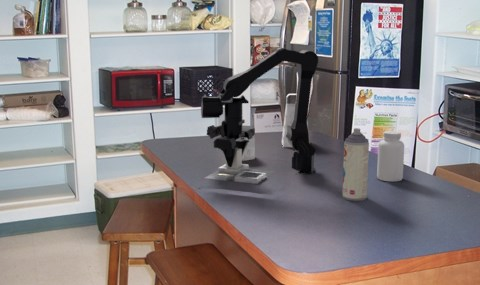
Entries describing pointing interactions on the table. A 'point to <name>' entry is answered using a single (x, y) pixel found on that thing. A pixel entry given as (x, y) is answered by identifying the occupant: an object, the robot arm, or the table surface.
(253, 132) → the jar
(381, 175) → the pill bottle
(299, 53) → the robot arm
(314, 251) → the table surface
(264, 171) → the panel
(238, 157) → the plug
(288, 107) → the grater
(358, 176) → the aerosol can
